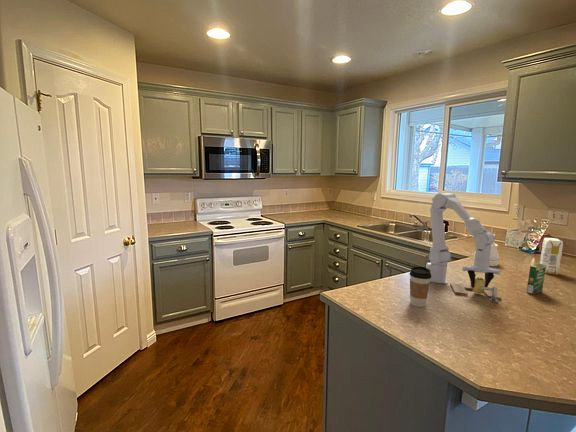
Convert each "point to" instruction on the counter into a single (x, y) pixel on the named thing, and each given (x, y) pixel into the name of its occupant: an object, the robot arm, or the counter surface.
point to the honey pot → (493, 255)
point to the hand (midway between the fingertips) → (478, 287)
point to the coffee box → (536, 279)
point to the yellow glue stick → (479, 285)
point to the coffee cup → (419, 285)
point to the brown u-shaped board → (461, 290)
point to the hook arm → (494, 292)
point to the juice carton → (551, 255)
